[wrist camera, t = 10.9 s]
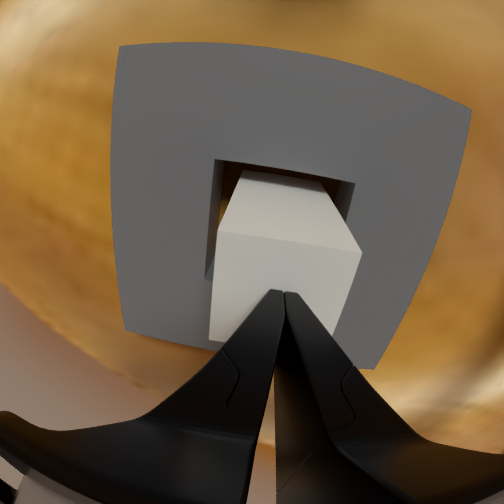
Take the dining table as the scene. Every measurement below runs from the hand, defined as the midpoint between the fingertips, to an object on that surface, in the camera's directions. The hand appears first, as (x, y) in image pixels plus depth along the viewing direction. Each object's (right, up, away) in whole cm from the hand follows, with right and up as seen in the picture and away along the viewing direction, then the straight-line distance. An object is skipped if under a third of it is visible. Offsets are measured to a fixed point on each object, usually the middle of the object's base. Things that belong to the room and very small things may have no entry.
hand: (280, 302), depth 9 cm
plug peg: (0, +4, +7) cm, 8 cm away
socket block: (0, +4, +7) cm, 8 cm away
